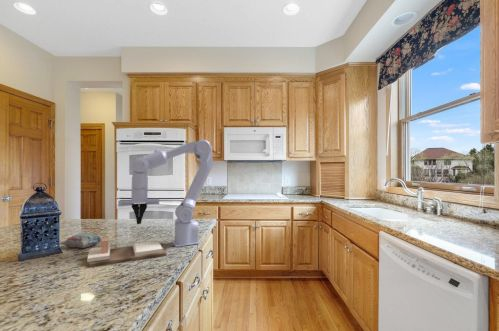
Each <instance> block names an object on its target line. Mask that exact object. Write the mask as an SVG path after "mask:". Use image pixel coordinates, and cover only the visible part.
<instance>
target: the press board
mask: <svg viewBox="0 0 499 331" xmlns="http://www.w3.org/2000/svg"><path fill="white" fill-rule="evenodd" d="M159 243H160V245H161V247H162V248H163V252H160V253H153V254H146V255H139V256H135V254H134V249H133V245H129V246H122V247H115V248H114V247H113V248H110V257H109V259H107V260H100V261H93V262H88V268H94V267H103V266H106V265H107V266H108V265H114V264H115V265H116V264H121V263H127V262H133V261H141V260H148V259H154V258H155V259H156V258H160V257H161V258H162V257H166V256H167V251H166V250H165V248H164V246H163V245H162V243H161V242H159Z"/></svg>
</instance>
